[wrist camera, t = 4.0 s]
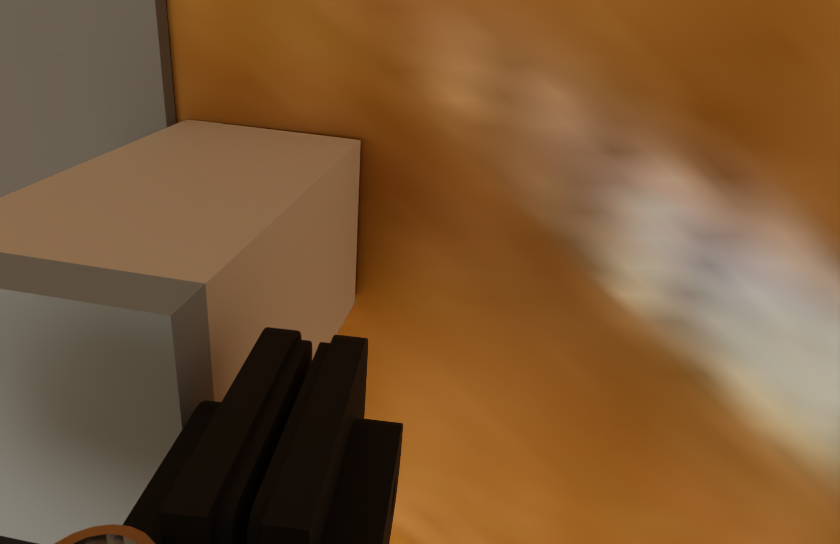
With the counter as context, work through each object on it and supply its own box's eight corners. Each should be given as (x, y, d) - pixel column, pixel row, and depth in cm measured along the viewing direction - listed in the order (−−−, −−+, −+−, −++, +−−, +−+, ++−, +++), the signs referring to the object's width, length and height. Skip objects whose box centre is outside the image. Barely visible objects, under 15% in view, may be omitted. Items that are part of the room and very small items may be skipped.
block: (360, 140, 18) (170, 315, 9) (355, 303, 20) (197, 577, 11) (187, 119, 18) (-158, 262, 9) (199, 279, 20) (-70, 520, 11)
